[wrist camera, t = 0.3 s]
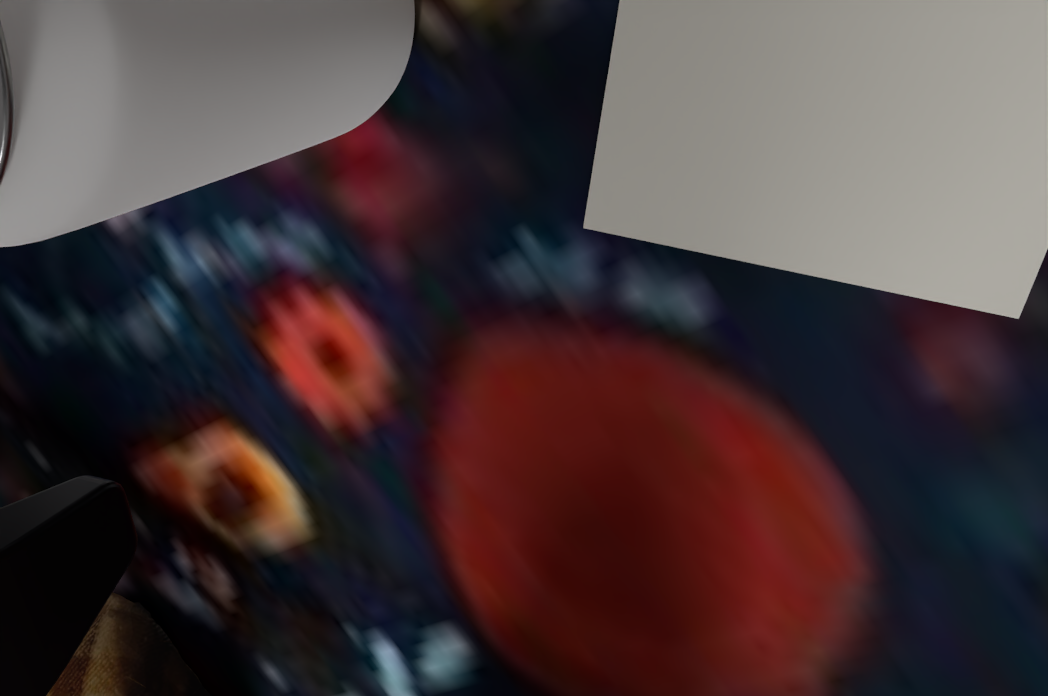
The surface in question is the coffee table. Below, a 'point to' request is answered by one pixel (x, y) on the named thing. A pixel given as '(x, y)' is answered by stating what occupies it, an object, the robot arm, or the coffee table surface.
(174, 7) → the can
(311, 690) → the coffee table surface
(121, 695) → the plush toy
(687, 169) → the pad
